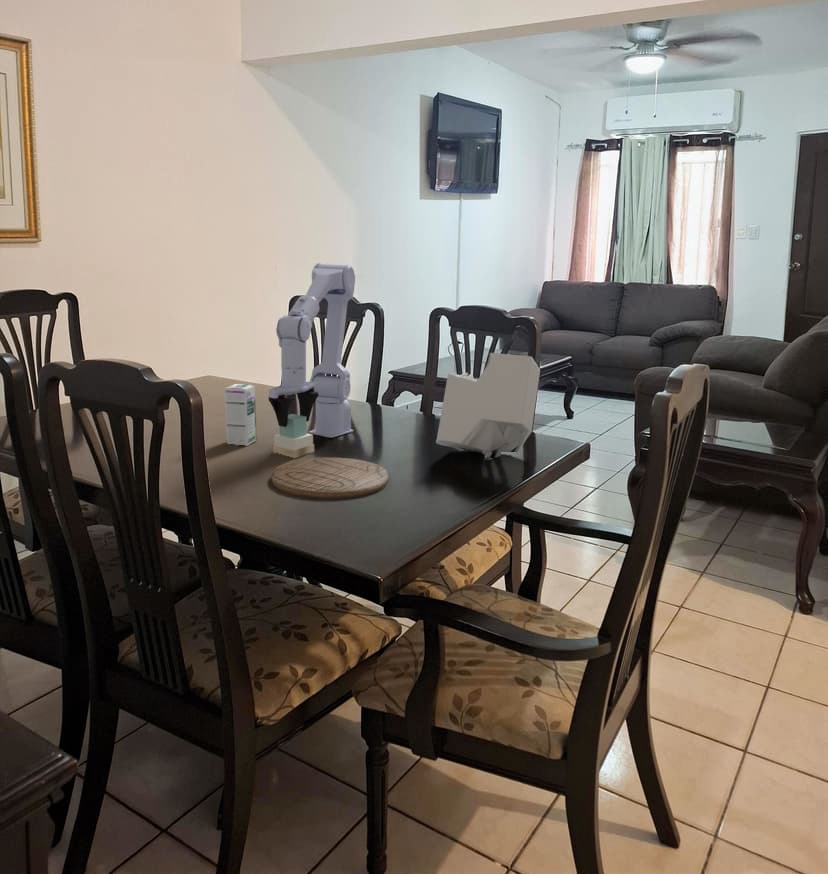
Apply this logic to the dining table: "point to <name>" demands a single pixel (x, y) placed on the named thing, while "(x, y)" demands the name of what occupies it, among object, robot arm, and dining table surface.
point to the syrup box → (240, 414)
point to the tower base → (293, 451)
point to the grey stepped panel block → (490, 406)
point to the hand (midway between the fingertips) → (293, 423)
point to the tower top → (293, 441)
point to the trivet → (329, 478)
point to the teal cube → (294, 426)
